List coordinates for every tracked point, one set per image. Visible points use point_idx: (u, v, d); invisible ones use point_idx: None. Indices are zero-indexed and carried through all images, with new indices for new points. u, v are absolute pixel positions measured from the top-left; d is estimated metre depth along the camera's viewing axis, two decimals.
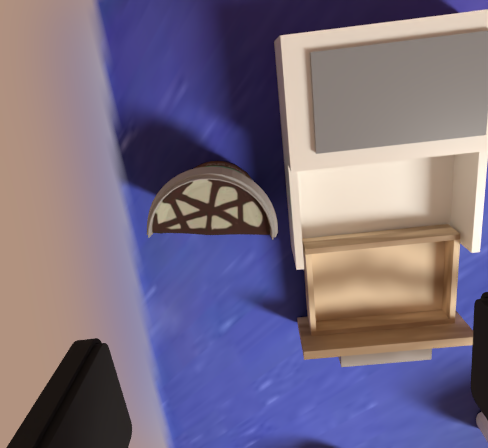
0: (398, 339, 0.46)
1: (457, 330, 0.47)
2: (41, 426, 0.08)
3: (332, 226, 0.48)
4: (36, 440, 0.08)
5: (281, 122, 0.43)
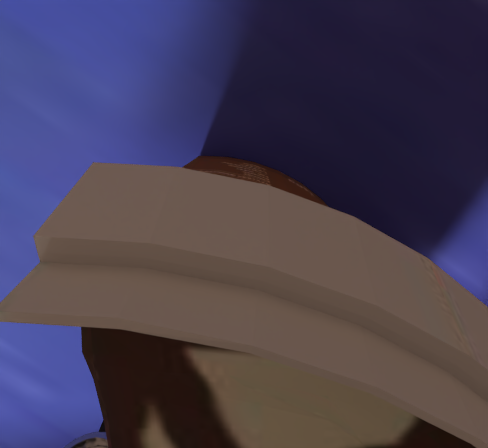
0: None
1: None
2: None
3: None
4: None
5: None
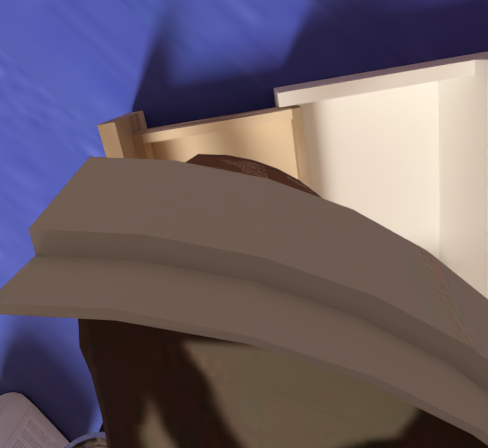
0: None
1: None
2: None
3: (315, 150, 0.31)
4: None
5: None
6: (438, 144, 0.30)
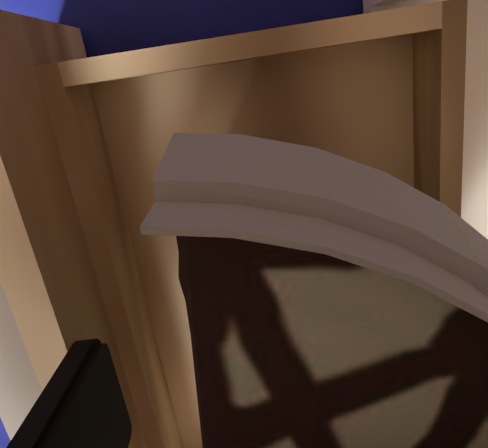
0: None
1: None
2: (41, 426, 0.08)
3: None
4: (37, 440, 0.08)
5: None
6: None
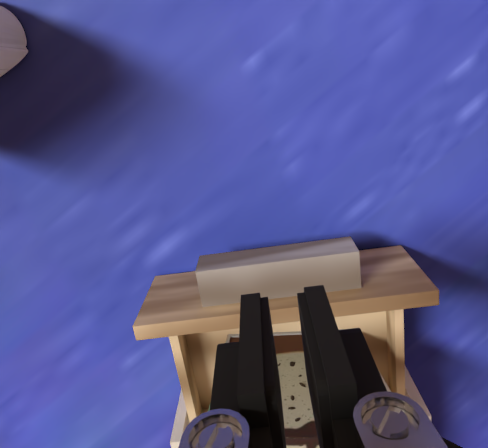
0: None
1: None
2: (259, 357, 0.09)
3: None
4: (263, 366, 0.09)
5: None
6: None
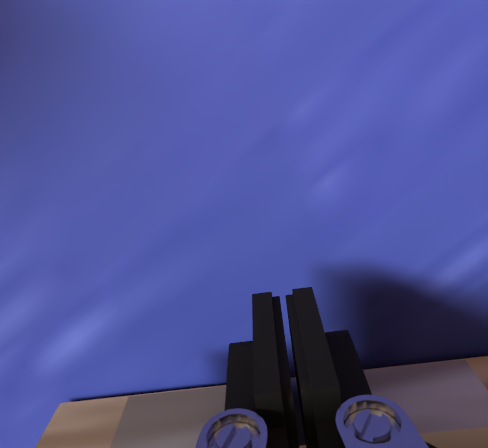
0: None
1: None
2: (274, 356, 0.09)
3: None
4: (278, 366, 0.08)
5: None
6: None
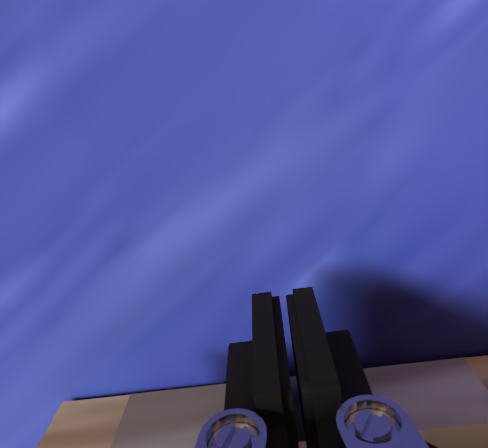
0: None
1: None
2: (274, 356, 0.09)
3: None
4: (277, 366, 0.08)
5: None
6: None
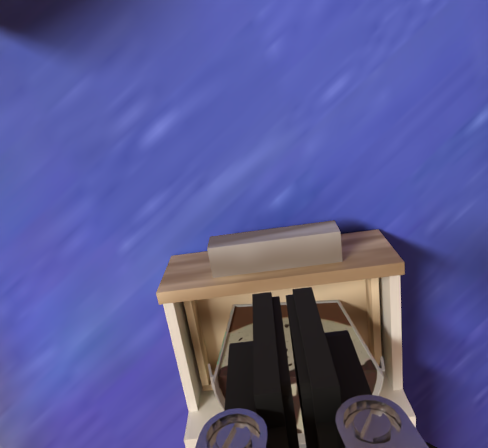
0: None
1: None
2: (274, 356, 0.09)
3: None
4: (278, 366, 0.08)
5: None
6: None
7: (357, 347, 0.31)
